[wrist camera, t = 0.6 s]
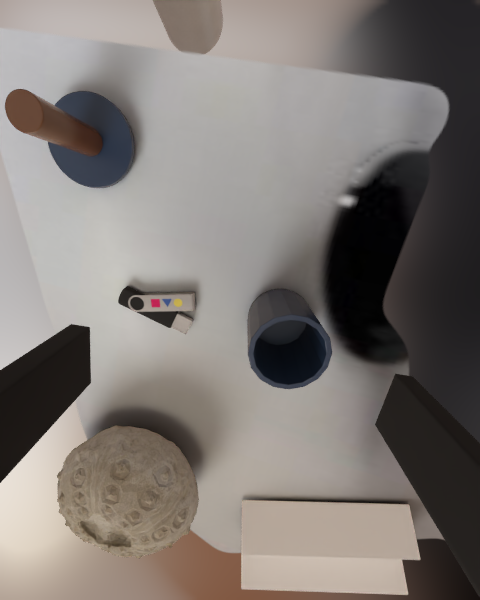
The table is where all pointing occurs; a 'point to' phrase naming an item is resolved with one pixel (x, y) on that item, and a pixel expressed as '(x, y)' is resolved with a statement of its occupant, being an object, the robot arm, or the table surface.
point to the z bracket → (326, 546)
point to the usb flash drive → (161, 306)
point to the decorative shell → (128, 492)
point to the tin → (286, 340)
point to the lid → (77, 134)
